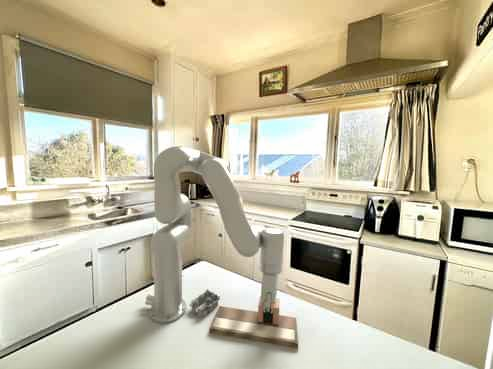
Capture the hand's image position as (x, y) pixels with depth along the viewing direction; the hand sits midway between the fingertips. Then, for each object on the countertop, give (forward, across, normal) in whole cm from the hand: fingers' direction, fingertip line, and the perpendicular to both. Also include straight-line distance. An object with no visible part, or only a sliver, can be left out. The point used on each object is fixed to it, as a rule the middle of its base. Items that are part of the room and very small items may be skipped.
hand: (268, 312), depth 74 cm
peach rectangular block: (+2, 0, 0) cm, 2 cm away
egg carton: (+4, -3, -24) cm, 25 cm away
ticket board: (+4, +3, -4) cm, 7 cm away
